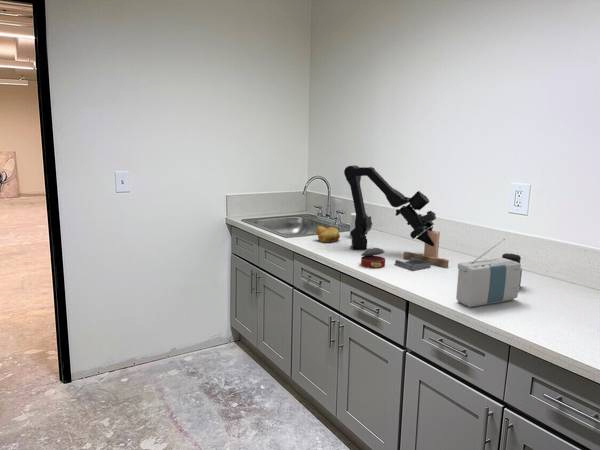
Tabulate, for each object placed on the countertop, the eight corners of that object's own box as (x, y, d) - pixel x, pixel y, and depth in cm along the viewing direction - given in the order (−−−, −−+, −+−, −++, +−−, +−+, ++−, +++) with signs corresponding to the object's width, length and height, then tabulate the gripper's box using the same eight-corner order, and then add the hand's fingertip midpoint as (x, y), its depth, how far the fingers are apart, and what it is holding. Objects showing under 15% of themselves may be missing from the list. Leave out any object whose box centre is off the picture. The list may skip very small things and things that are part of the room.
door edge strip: (403, 258, 207) (403, 252, 206) (405, 257, 208) (406, 251, 208) (445, 268, 193) (446, 260, 193) (448, 267, 195) (448, 260, 194)
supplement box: (365, 239, 245) (366, 215, 243) (350, 238, 245) (351, 214, 243) (363, 236, 252) (364, 212, 250) (349, 235, 252) (350, 212, 250)
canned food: (362, 277, 194) (351, 256, 194) (370, 269, 203) (360, 248, 202) (386, 269, 188) (375, 246, 188) (393, 261, 197) (383, 239, 196)
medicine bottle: (517, 290, 166) (521, 257, 164) (496, 287, 170) (499, 254, 168) (520, 285, 172) (523, 253, 170) (499, 282, 176) (502, 250, 174)
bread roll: (335, 238, 246) (335, 223, 245) (345, 242, 238) (346, 226, 236) (313, 240, 240) (314, 224, 239) (323, 244, 232) (323, 228, 230)
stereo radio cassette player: (470, 310, 147) (476, 247, 143) (452, 301, 154) (457, 242, 150) (518, 301, 156) (525, 242, 152) (499, 293, 163) (504, 237, 159)
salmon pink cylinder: (423, 259, 207) (425, 232, 205) (426, 256, 211) (428, 230, 209) (435, 260, 205) (437, 233, 203) (437, 258, 209) (439, 231, 207)
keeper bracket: (394, 264, 197) (394, 260, 197) (411, 261, 203) (412, 257, 202) (412, 270, 188) (412, 266, 188) (430, 267, 194) (430, 262, 194)
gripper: (419, 208, 198) (444, 237, 194) (430, 203, 214) (453, 229, 210) (400, 224, 203) (424, 252, 200) (412, 218, 219) (434, 244, 216)
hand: (435, 244), depth 206 cm, fingers closed on salmon pink cylinder, 5 cm apart
